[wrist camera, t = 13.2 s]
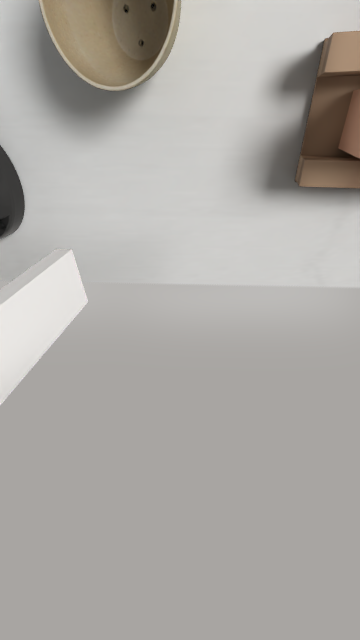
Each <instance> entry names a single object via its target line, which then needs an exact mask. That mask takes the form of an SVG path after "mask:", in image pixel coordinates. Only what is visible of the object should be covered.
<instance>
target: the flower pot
mask: <svg viewBox="0 0 360 640" xmlns="http://www.w3.org/2000/svg"><path fill="white" fill-rule="evenodd" d="M153 3H154V4H155V5H154V7H153V8H151V6H152V4H153ZM39 5H40V9H41V12H42V16H43V19H44V22H45V25H46V27H47V30H48V33H49V35H50V37H51V39H52V41H53V43H54V45H55V47H56V49H57V50H58V52H59V53H60V55H61V57H62V58H63V59H64V61H65V62H66V64H67V65H68V66H69V67H70V68H71V69H72V70H73V71H74V72H75V73H76V74H77V75H78V76H79V77H80V78H81V79H83V80H84V81H86V82H87V83H89V84H90V85H92V86H94V87H97V88H100V89H103V90H108V91H120V90H126V89H130V88H133V87H136V86H138V85H140V84H142V83H144V82H145V81H147V80H148V79H150V78H151V77H152V76H153V75H154V74H155V73H156V72H157V71H158V70H159V69H160V68H161V67H162V65H163V64H164V62H165V61H166V59H167V58H168V56H169V54H170V52H171V49H172V47H173V44H174V42H175V38H176V35H177V31H178V26H179V20H180V11H181V0H39ZM125 9H126V10H127V11H128V13H126V12H125V11H124V10H125ZM142 41H143V43H144V44H143V45H142Z"/></svg>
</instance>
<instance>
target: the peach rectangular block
mask: <svg viewBox="0 0 360 640" xmlns="http://www.w3.org/2000/svg"><path fill="white" fill-rule="evenodd" d="M338 148H339V149H341V150H343V151H345V152H347V153H349V154H351V155H353V156H355V157H357V158H359V159H360V89H358V90H354V91H353V94H352V98H351V102H350V105H349V109H348V113H347V117H346V121H345V124H344V128H343V132H342V136H341V139H340V143H339V147H338Z"/></svg>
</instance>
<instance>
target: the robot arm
mask: <svg viewBox="0 0 360 640" xmlns="http://www.w3.org/2000/svg"><path fill="white" fill-rule="evenodd" d="M23 216H24V195H23V190H22V186H21V183H20V180H19V177H18V175H17V172H16V170H15V168H14V166H13V164H12V162H11V160H10V159H9V157H8V155H7V154H6V152H5V151H4V150H3V148H2V147H1V145H0V239H2V238H4V237H6V236H8V235H10V234H12V233H13V232H15V231H16V230H17V229H18V227H19V226H20V224H21V222H22V219H23ZM87 303H88V300H87V297H86V293H85V290H84V287H83V284H82V280H81V277H80V274H79V271H78V267H77V264H76V261H75V258H74V254H73V251H72V249H55V250H54V251H53V252H51V253H50V254H48V255H47V256H46V257H44V258H43V259H41V260H40V261H39V262H37V263H36V264H34V265H33V266H32V267H30V268H29V269H28V270H26V271H25V272H23V273H22V274H21V275H19V276H18V277H16V278H15V279H14V280H12V281H11V282H9V283H8V284H7V285H5V286H4V287H3V288H1V289H0V405H1V404H2V403H3V401H4V400H5V399H6V398H7V397H8V396H9V394H10V393H11V392H12V391H13V390H14V389H15V387H16V386H17V385H18V384H19V383H20V382H21V380H22V379H23V378H24V377H25V376H26V374H27V373H28V372H29V371H30V370H31V369H32V367H33V366H34V365H35V364H36V363H37V361H38V360H39V359H40V358H41V357H42V355H43V354H44V353H45V352H46V351H47V350H48V348H49V347H50V346H51V345H52V344H53V342H54V341H55V340H56V339H57V338H58V337H59V336H60V334H61V333H62V332H63V331H64V330H65V329H66V327H67V326H68V325H69V324H70V323H71V321H72V320H73V319H74V318H75V317H76V316H77V314H78V313H79V312H80V311H81V310H82V309H83V307H84V306H85V305H86V304H87Z"/></svg>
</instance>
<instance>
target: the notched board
mask: <svg viewBox="0 0 360 640" xmlns="http://www.w3.org/2000/svg"><path fill="white" fill-rule="evenodd" d="M358 89H360V31H350V32H336V33H333V34H332V35H331V36H330V37H329V38H326V39H325V40H324V44H323V49H322V54H321V58H320V63H319V68H318V73H317V77H316V82H315V87H314V92H313V96H312V101H311V106H310V111H309V115H308V120H307V125H306V130H305V134H304V139H303V144H302V149H301V153H300V158H299V163H298V167H297V172H296V177H295V182H297V183H298V185H299V186H304V187H335V188H360V159H359V158H357V157H355V156H353V155H351V154H349V153H347V152H345V151H343V150H341V149H339V148H338V147H339V143H340V139H341V136H342V132H343V128H344V124H345V121H346V117H347V113H348V109H349V105H350V102H351V98H352V94H353V91H354V90H358Z"/></svg>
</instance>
